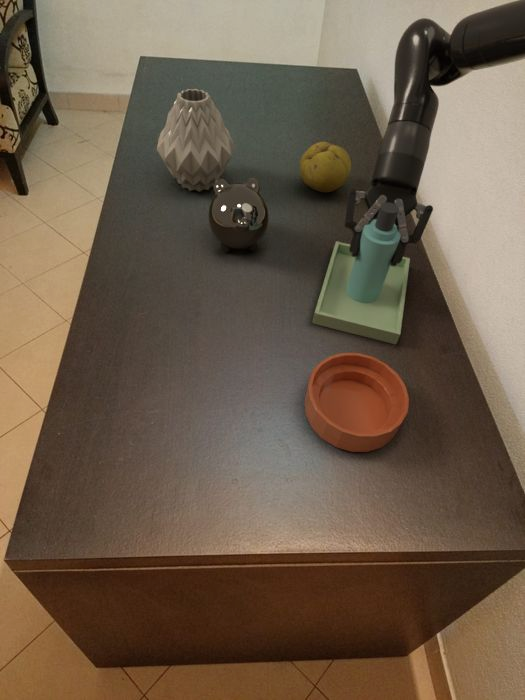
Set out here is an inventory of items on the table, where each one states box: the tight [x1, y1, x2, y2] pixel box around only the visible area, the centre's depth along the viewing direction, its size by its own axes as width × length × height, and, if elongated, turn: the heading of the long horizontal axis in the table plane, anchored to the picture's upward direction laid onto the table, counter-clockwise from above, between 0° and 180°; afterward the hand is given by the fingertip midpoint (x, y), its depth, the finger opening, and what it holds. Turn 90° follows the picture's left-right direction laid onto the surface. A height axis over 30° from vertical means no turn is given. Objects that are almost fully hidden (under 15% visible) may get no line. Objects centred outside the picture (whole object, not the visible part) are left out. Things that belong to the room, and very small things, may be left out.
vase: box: [156, 88, 236, 192], centre depth 98 cm, size 16×16×18 cm
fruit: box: [299, 141, 352, 193], centre depth 103 cm, size 11×12×10 cm
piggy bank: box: [208, 177, 270, 253], centre depth 88 cm, size 11×15×12 cm
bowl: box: [303, 352, 410, 453], centre depth 67 cm, size 14×14×5 cm
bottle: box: [347, 203, 401, 303], centre depth 78 cm, size 6×6×18 cm
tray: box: [311, 240, 411, 345], centre depth 84 cm, size 14×20×3 cm
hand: (373, 260), depth 77 cm, fingers closed on bottle, 6 cm apart
